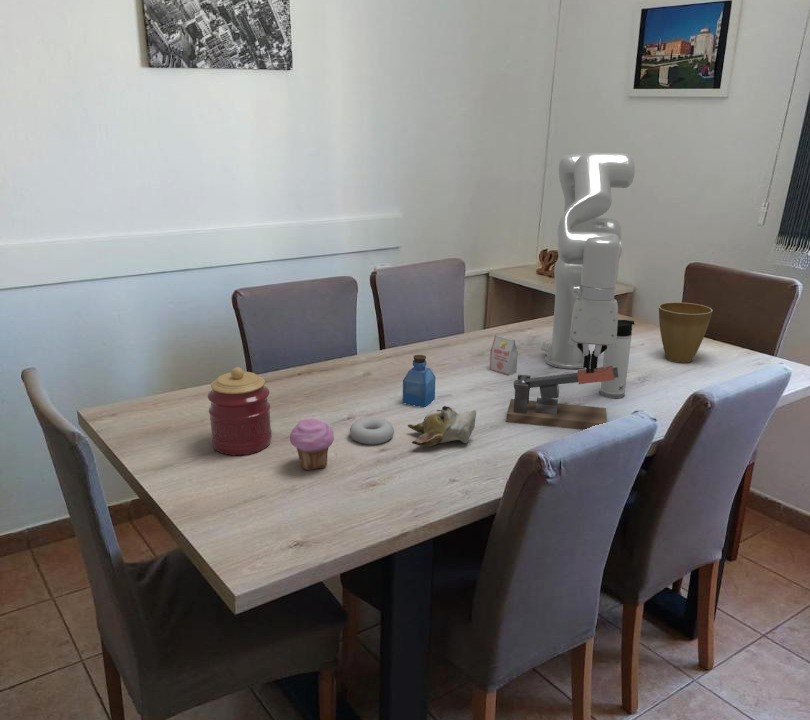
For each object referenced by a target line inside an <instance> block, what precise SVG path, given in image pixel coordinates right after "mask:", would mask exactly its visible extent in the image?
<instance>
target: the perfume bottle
mask: <svg viewBox="0 0 810 720" xmlns="http://www.w3.org/2000/svg"><path fill="white" fill-rule="evenodd" d="M426 359H427V356H426V355H424V354H416V355H413V360H412V366H413V367H412V368H411V369H409V370H408V371H407V373H406V374H405V377H404V378H403V379H402V404H403V403H406V404H405V405H408V404H410V405H409V406H413V405H415V407H418V406H420V408H424V407H426V406H427V407H428V406H430V404H432V403H433V402H434V401H435V400H436V375H435V373H434V372H433V371H432V369H431V368H430V367H426V366H427V360H426ZM433 400H434V401H433ZM432 401H433V402H432ZM427 407H426V408H427Z"/></svg>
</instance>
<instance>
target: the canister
mask: <svg viewBox="0 0 810 720" xmlns="http://www.w3.org/2000/svg"><path fill="white" fill-rule="evenodd" d="M210 383H211V384H210V388H211V390H210V391H209V392H208V394H207V399H208V401H210V407H209V408H208V413H209V418H210V420H209V421H210V429H211V430H210V431H211V434H210V438H211V440H210V441H211V443H212V447H213V449H214V448H215V449H216V450H215V449H214V450H215V451H217V452H218V451H219V453H220V452H221V453H220V454H223V453H225V455H228V454H229V455H231V456H242V455H243V456H245V455H250V454H254V453H257V452H260V450H261V451H263V450H265V449H266V448H267V447H268V446H270V444H271V441H272V436H273V433H272V428H271V427H272V425H271V412H270V410H271V409H270V408H271V403H270V402H269V401H268V397H269V395H270V392H271V391H270V389H269V388H268V387H267V386H265V383H266V381H265V379H264V378H263V377H262V376H260V375H257V374H256V373H255V372H252V371H251V372H250V371H244V369H242V368H241V367H239V366H237V367H234V368H232V369H231V371H230V372H226V373H223V374H221V375H219V376H218V377H217V378H215V379H214V380H213V381H212V382H210ZM264 448H265V449H264Z"/></svg>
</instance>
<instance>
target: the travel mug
mask: <svg viewBox="0 0 810 720" xmlns="http://www.w3.org/2000/svg"><path fill="white" fill-rule="evenodd" d="M633 326H635V321H634V320H627V319H618V327H617V338H616V345H617V347H616V348H614V349H607V350H605V351H604V353H603V360H602V367H607V366H613V368H617V369H618V377H617V378H614V380H611V381H603V382H600V389H599V393H600V395H601V396H603V397H605V398H610V399H620V398H623V397H625V395H626V385H627V380H628V379H627V377H628V370H629V369H628V368H629V361H630V352H631V343H632V333H633V332H632V331H633Z"/></svg>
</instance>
